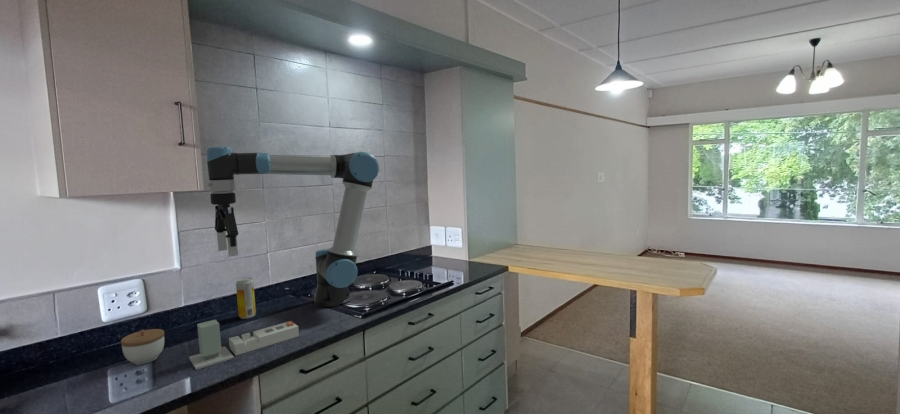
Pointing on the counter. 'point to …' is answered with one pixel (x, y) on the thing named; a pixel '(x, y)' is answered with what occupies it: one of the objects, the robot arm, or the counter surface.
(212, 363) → the mat
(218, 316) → the counter surface
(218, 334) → the block
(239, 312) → the beer can
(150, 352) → the lidded jar
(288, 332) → the power strip
